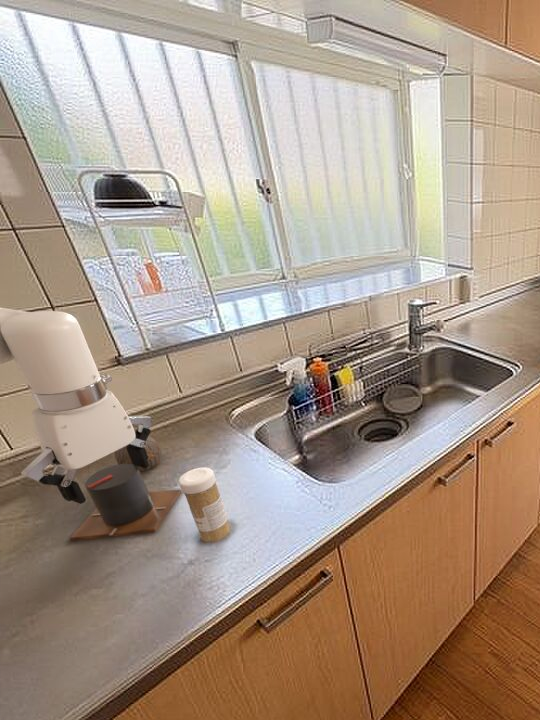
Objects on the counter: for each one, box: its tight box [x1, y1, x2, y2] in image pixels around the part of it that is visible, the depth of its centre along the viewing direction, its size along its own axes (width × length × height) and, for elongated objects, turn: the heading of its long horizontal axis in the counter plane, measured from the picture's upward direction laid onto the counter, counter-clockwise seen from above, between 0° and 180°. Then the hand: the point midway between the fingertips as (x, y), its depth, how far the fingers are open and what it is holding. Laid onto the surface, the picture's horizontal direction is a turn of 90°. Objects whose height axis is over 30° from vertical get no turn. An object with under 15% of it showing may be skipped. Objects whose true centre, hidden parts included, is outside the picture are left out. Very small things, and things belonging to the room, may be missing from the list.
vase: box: [114, 428, 162, 473], centre depth 85 cm, size 7×7×9 cm
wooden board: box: [69, 489, 183, 542], centre depth 75 cm, size 12×11×2 cm
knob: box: [84, 464, 153, 526], centre depth 72 cm, size 7×7×8 cm
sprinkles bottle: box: [178, 467, 232, 543], centre depth 70 cm, size 5×5×14 cm
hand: (111, 482), depth 71 cm, fingers open, 9 cm apart
